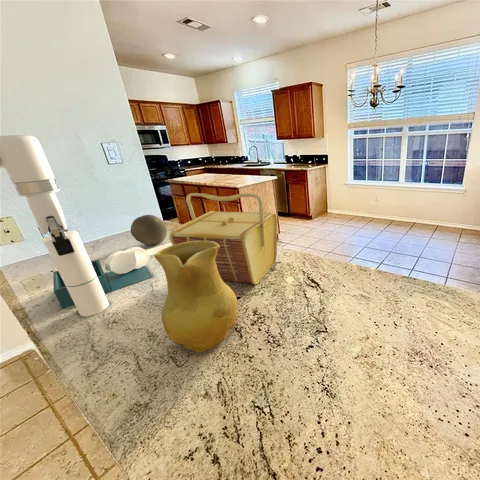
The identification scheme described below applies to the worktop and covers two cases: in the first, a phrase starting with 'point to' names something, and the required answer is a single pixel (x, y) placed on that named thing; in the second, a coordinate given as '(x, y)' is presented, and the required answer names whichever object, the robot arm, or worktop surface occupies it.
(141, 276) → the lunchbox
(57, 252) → the robot arm
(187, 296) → the pitcher
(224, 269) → the picnic basket
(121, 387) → the worktop surface
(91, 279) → the cylindrical container
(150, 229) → the cantaloupe
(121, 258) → the white long scooped piece
